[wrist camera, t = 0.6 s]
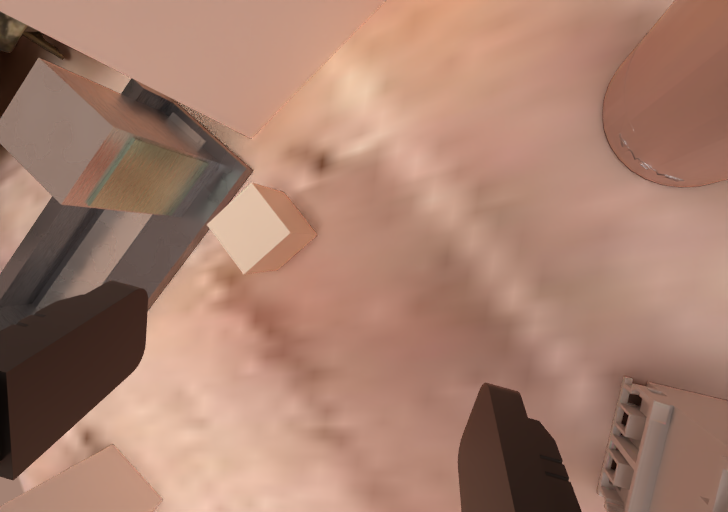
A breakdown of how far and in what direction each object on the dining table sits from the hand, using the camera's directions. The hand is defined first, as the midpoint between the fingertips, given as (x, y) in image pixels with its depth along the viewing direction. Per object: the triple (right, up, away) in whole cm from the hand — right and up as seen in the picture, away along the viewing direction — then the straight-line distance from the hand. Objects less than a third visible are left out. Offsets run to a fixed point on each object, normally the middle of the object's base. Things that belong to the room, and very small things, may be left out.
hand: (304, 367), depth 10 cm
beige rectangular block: (-5, +4, +22) cm, 23 cm away
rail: (-18, +2, +25) cm, 31 cm away
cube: (-7, +28, +23) cm, 36 cm away
